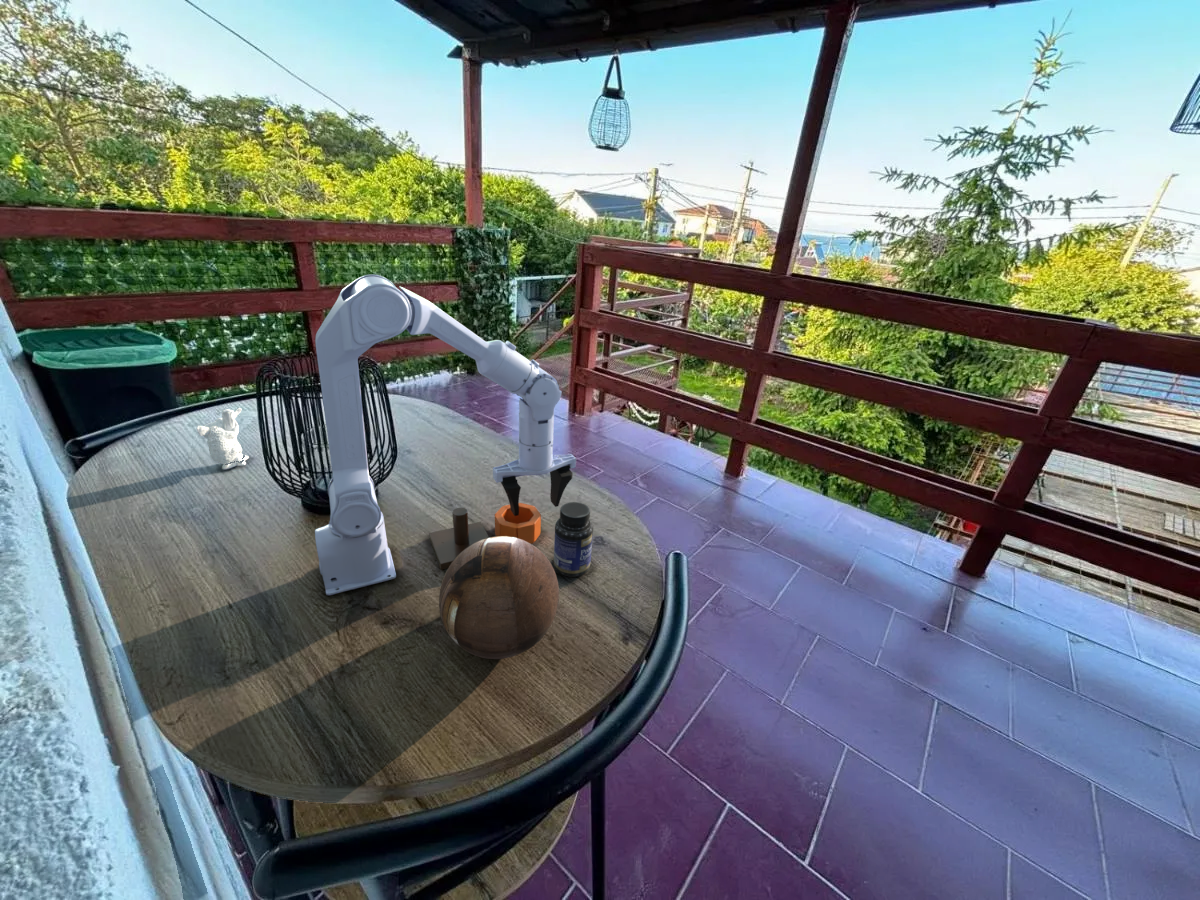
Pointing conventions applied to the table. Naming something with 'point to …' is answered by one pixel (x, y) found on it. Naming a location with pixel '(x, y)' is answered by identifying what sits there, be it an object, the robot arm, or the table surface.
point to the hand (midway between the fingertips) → (535, 508)
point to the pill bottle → (573, 540)
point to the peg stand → (456, 538)
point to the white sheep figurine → (224, 439)
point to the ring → (518, 523)
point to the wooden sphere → (499, 597)
